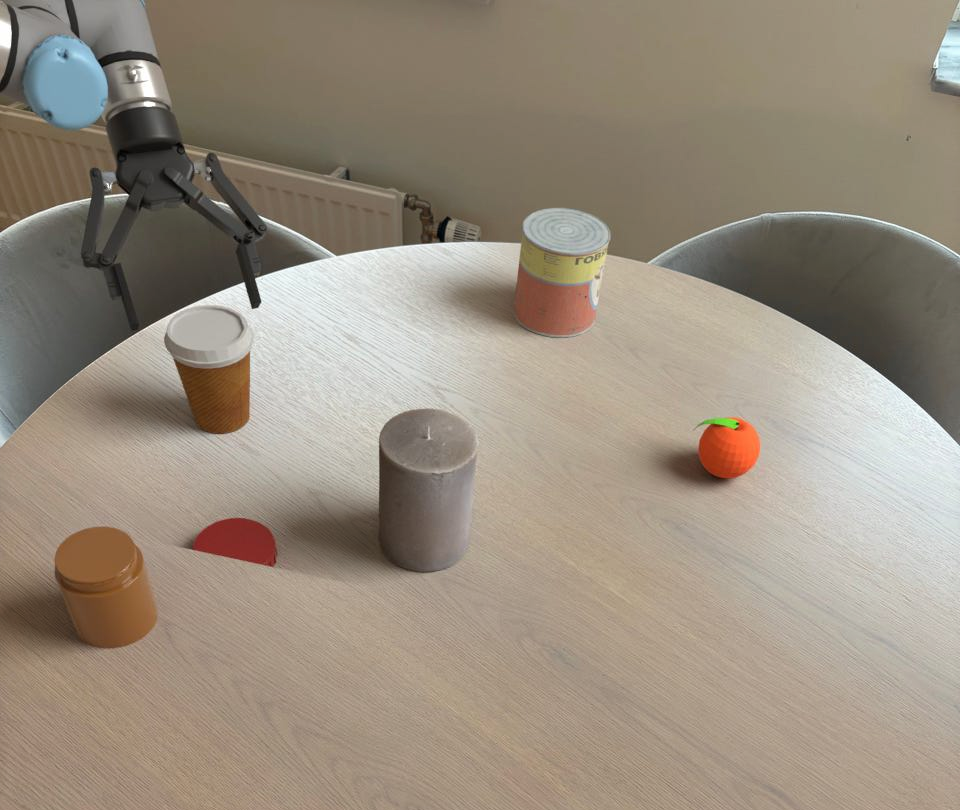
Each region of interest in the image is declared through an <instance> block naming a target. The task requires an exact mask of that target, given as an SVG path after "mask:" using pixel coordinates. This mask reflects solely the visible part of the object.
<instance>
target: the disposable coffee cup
mask: <svg viewBox="0 0 960 810" xmlns="http://www.w3.org/2000/svg"><path fill="white" fill-rule="evenodd" d="M254 335H255V334H254V331H253V328H252V327H251V326H250V324H249V323H248V321H247V319H246V317H244V316H243V314H242V313H240V312H239V311H237V310H235V309H233V308H230V307H226V306H224V305H223V306H222V305H215V304H212V305H211V304H210V305H209V304H206V305H197V306H193V307H189V308H186V309H184V310H181V311H179V312H177V313H176V314H175V315H173V317H172V318H170V320H168V323H167V326H166V331H165V334H164V337H163V338H164V339H163V343H164V346H165V349H166V350H167V351H168V352H169V355H170V356H171V357H172V358H173V359H172V360H173V362H174V365H175V367H176V371H177V373H178V377H179V378H180V381H181V385H182V387H183V390H184V393H185V396H186V398H187V401H188V403H189V407H190V410H191V412H192V415H193V418H194V422H195V424H196V426H198V427H199V428H200V429H201V430H203V431H205V432H207V433H212V434H219V435H220V434H228V433H234V432H236V431H238V430H240V429H242V428H243V427H244V426H245V425H246V424H247V423H248V422H249V420H250V415H251V414H250V411H251V409H250V408H251V407H250V406H251V405H250V403H251V402H250V401H251V400H250V398H251V397H250V396H251V395H250V393H251V350H252V346H253V344H254V338H255V337H254Z"/></svg>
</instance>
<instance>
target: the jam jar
mask: <svg viewBox="0 0 960 810" xmlns="http://www.w3.org/2000/svg"><path fill="white" fill-rule="evenodd" d="M53 572H54V578H55V581H56V583H57V586H58V588H59V591H60V593H61V596H62V599H63V601H64V604H65V606H66V609H67V612H68V614H69V617H70V619H71V622H72V625H73V627H74V629H75V632H76V634H77V636H78V637H79V638H80V639H81V640H82V641H83V642H85V643H87V644H88V645H91V646H92V647H96V648H102V649H119V648H123V647H127V646H130V645H133V644H135V643H137V642H138V641H140V640H142V639H143V638H145V637H146V636H147V635H148V634H149V633H151V631H152V630H153V628H155V625H156V624H157V621H158V619H159V607H158V604H157V601H156V598H155V597H156V596H155V594H154V591H153V587H152V583H151V580H150V579H151V578H150V576H149V572H148V569H147V564H146V562H145V559H144V554H143V553H142V550H141V549H140V548H139V547H138V545H137V544H135V542H134V540H133V538H132V537H131V536H130V535H129V534H128V533H126V531H123V530H122V529H118V528H115V527H113V526H112V527H110V526H91V527H88V528H87V527H86V528H84V529H81V530H78V531H76V532H74V533H72V534H71V535H69V536H68V537H66V538H65V539H64V540H63V541H62V542H61V543H60V544H59V546H58V547H57V548H56V551H55V553H54V571H53Z"/></svg>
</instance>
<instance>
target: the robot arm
mask: <svg viewBox="0 0 960 810" xmlns="http://www.w3.org/2000/svg"><path fill="white" fill-rule="evenodd" d="M151 29H152V28H151V26H150V23H149V18H148V14H147V7H146V3H145V1H144V0H0V96H2V97H4V98H7V99H9V100H12V101H15V102H18V103H20V104H24V105H26V106H28V107H29V108H30V110H31V111H32V112H33V113H34V114H35V115H36V116H38V117H39V118H40V119H42V120H44V121H45V122H46V123H48V124H49V125H50V126H52V127H55V128H58V129H60V130H64V131H78V130H82V129H85V128H88V127H90V126H91V125H93V124H95V122H97V121H98V120H99V118H100V117H101V119H102V120H103V122H104V123H106V125H105V132H106V135H107V138H108V142H109V145H110V149H111V152H112V156H113V159H114V162H115V171H114V170H113V171H101V169H99V167H91V168H90V170H89V183H90V190H91V196H90V202H89V208H88V213H87V219H86V224H85V229H84V235H83V240H82V246H81V250H80V261H81V265H82V266H83V267H84V268H87V269H90V268H94V269H98V270H100V271H101V273H102V276H103V278H104V281H105V284H106V288H107V291H108V294H109V297H110V298H111V300H113V301H116V300H117V301H118V300H121V301H122V305H123V308H124V312H125V315H126V318H127V321H128V325H129V327H130V331H131V332H134V331H139V327H140V322H139V319H138V315H137V312H136V309H135V307H134V303H133V300H132V297H131V293H130V289H129V286H128V283H127V280H126V276H125V274H124V270H123V267H122V263H121V262H118V263H115V262H116V260H117V259H118V256H119V254H120V253H121V250H122V248H123V246H124V244H125V242H126V240H127V238H128V236H129V234H130V231H131V229H132V228H133V226H134V223H135V222H136V220H137V218H138V217H139V214H140V212H141V210H142V208H143V209H145V210H148V211H150V212H157V211H160V210H162V209H171V210H173V209H178V208H179V207H180V206H181V205H183V204H184V205H186V206H187V207H189V209H191V210H193V211H196V212H197V213H198V214H199V215H200V216H202V217H203V218H205V220H207V221H209V223H211V224H212V225H213V226H215V227H216V228H217V229H219V230H220V231H221V232H222V233H223V234H225V235H226V236H227V237H229V238H230V239H231V240H232V241H233V242H235V243H236V244H237V247H236V250H235V254H236V259H237V261H238V264H239V268H240V272H241V275H242V279H243V284H244V286H245V290H246V293H247V298H248V300H249V304H250V308H251V309H252V310H255V309H259V308H260V306H261V304H262V297H261V295H260V291H259V287H258V283H257V281H256V276H260V274H261V271H262V266H261V261H260V259H259V254H258V250H257V248H256V243H257V242H259V241H262V240H264V238H265V236H266V234H267V232H268V225H267V224H266V223H265V222H264V220H263V219H262V218H261V217H260V216H259V214H258V213H257V212H256V211H255V209H254V208H253V207H252V206H251V204H250V203H249V201H247V199H246V198H245V197H244V196H243V194H242V193H241V192H240V191H239V190H238V188H237V187H236V186H235V185H234V183H233V182H232V181H231V179H229V177H228V176H227V175H226V174H225V172H224V171H223V168H222V165H221V163H220V160H219V158H218V155H217V154H216V153H214V152H208V153H207V155H206V157H204V158H199V159H196V160H191V158H190V157H189V156H188V154H187V152H186V149H185V148H186V147H185V145H184V142H183V138H182V134H181V130H180V128H179V124H178V120H177V118H176V115H175V114H174V113H173V112H172V111H173V109H174V107H173V103H172V100H171V97H170V93H169V90H168V86H167V84H166V83H167V82H166V80H165V76H164V73H163V69H162V66H161V62H160V60H159V56H158V52H157V48H156V45H155V41H154V37H153V33H152V30H151ZM195 174H198V175H200V177H202V179H203V180H205V181H209V182H210V183H211V185H212V187H213V188H214V189H215V191H216V192H217V193H218V195H219V196H220V197H221V199H223V201H224V202H225V203H226V204H227V206H228V207H229V208H230V209H231V211H232V212H233V213H234V215H236V217H237V218H238V219H239V221H240V222H239V221H238V220H236V219H235V218H234V217H233V216H232V215H230V214H229V213H228V212H227V211H225V210H224V209H223V208H222V207H220V206H219V205H218V204H217V203H216V202H214V201H213V200H212V199H210V198H209V197H208V196H207V195H205V193H204V192H203V191H202V190H201V189H200V188H199V187H198V186H197V185H195V184H194V183H193V180H194V177H195ZM115 185H117V186H118V187H119V188H120V189H121V190H122V191H123V192H125V194H127V195H128V197H127V199H126V202H125V205H124V207H123V209H122V211H121V213H120V215H119V216H118V219H117V221H116V223H115V225H114V228H113V229H112V231H111V233H110V235H109V238H108V240H107V242H106V244H105V246H104V247H103V249H102V252H101V253H100V252H96V250H97V246H98V240H99V236H100V230H101V225H102V218H103V214H104V208H105V195H110V194H111V193H112V189H113V187H114V186H115Z"/></svg>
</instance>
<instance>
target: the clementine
mask: <svg viewBox="0 0 960 810" xmlns="http://www.w3.org/2000/svg"><path fill="white" fill-rule="evenodd" d="M703 425H708V426H707V427H705V429H704V431H703V433H702V434H701V436H700V438H699V440H698V441H699V442H698V449H697V452H698V456H699V460H700V463H701V464H702V465H703V467H704V468H705V470H706V471H707V472H708V473H710V474H711V475H713V476H715V477H719V478H720V479H721V478H722V479H733V478H739V477H741V476H743V475H745V474H746V473H748V472H749V471H750V470H751V469H752V468H754V466H755V465H756V463H757V461H758V458H759V457H760V452H761V440H760V436H759V434H758V432H757V430H756V428H755V427H754V426H753V425H752V424H751V423H749V422H748V421H746V420H745V419H742V418H741V417H740V418H739V417H733V416H732V417H730V416H727V417H714V418H710V419H706V420H703V421H702V422H700V423H698V424H697V425H696V426H695V427H694V429H693V430H692V432H694V431H695V430H696V429H697V428H699V427H701V426H703Z"/></svg>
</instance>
